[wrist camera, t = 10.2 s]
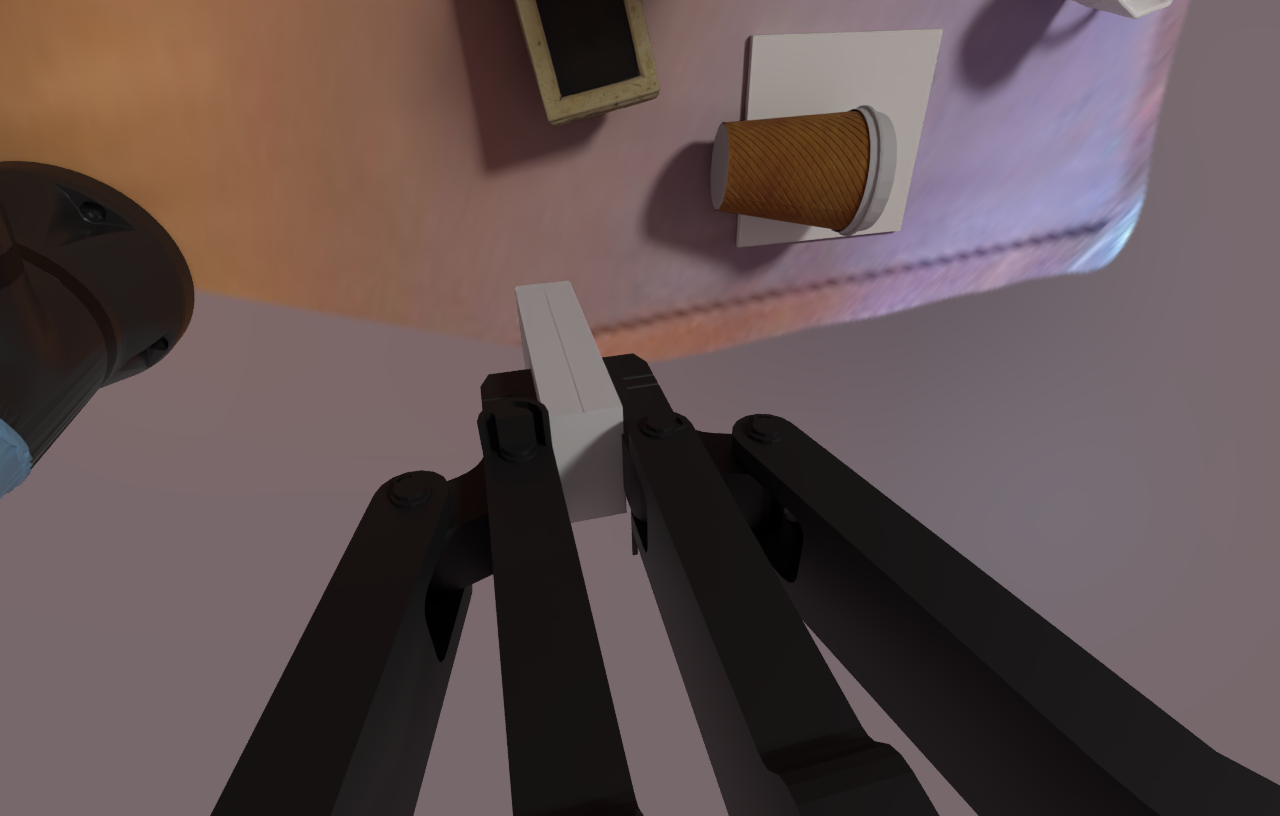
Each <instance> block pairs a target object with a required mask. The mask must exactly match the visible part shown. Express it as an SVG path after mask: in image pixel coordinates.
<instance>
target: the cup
mask: <svg viewBox="0 0 1280 816" xmlns="http://www.w3.org/2000/svg"><path fill="white" fill-rule="evenodd" d="M1073 1H1075V2H1077V3H1079V4H1082V5H1084V6H1086V7H1090V8H1094V9H1098V10H1103V11H1107V12H1111V13H1114V14H1118V15H1121V16H1125V17H1129V18H1133V19H1137V18H1140V17H1142V16H1145V15H1147V14H1150V13H1152V12H1154V11H1157V10H1159V9H1162V8H1164V7H1167V6H1169V5H1170V4H1171V3H1172V1H1173V0H1073Z"/></svg>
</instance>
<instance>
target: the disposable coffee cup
mask: <svg viewBox="0 0 1280 816" xmlns="http://www.w3.org/2000/svg"><path fill="white" fill-rule="evenodd" d="M896 164H897V141H896V134H895V129H894V126H893V123H892V122H891V120H890V118H889V117H888V116H887V115H885V114H884V113H881V112H877V111H875V110H874V108H873V107H871V106H869V105H862V106H859V107H857V108H855V109H851V110H849V111H847V112H838V113H827V114H814V115H804V116H793V117H781V118H770V119H758V120H747V121H736V122H723V123H721V125H720V126H719V128H718V131H717V134H716V137H715V141H714V146H713V153H712V161H711V173H710V181H711V200H712V204H713V207H714V209H715V210H716V211H723V212H729V213H736V214H741V215H747V216H754V217H760V218H765V219H771V220H778V221H784V222H790V223H797V224H802V225H808V226H815V227H821V228H828V229H831V230H832V231H834V232H837V233H839V234H840V235H843V236H851V235H853V234H855V233H856V232H858V231H863V230H867V229H868V228H870V227H872V226H873V225H874V224H875V223H876V222H877V220H878V219H879V217H880V216H881V214H882V213H883V211H884V208H885V206H886V204H887V202H888V199H889V196H890V193H891V189H892V186H893V182H894V177H895V171H896Z"/></svg>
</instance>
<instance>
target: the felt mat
mask: <svg viewBox="0 0 1280 816" xmlns="http://www.w3.org/2000/svg"><path fill="white" fill-rule="evenodd" d="M942 33H943V29H922V30H893V31H864V32H836V33H807V34H778V35H751V36H750V51H749V65H748V80H747V94H746V108H745V121H747V120H758V119H770V118H781V117H793V116H804V115H814V114H827V113H838V112H847V111H849V110H851V109H855V108H857V107H859V106H862V105H869V106H871V107H873V108H874V110H875V111H877V112H881V113H884V114H885V115H887V116H888V117H889V118H890V120H891V122H892V123H893V126H894V129H895V134H896V141H897V164H896V171H895V177H894V182H893V186H892V189H891V193H890V196H889V199H888V202H887V204H886V206H885V208H884V211H883V213H882V214H881V216H880V217H879V219H878V220H877V222H876V223H875V224H874V225H873V226H872V227H870V228H868V229H867V230H863V231H858V232H856V233H855V234H853V235H862V234H872V233H881V232H891V231H900V229H901V225H902V220H903V215H904V211H905V206H906V201H907V197H908V192H909V187H910V183H911V178H912V173H913V169H914V164H915V159H916V155H917V150H918V145H919V140H920V136H921V131H922V126H923V122H924V117H925V112H926V108H927V103H928V98H929V94H930V89H931V84H932V80H933V75H934V70H935V66H936V61H937V56H938V52H939V47H940V42H941V38H942ZM853 235H851V236H853ZM834 237H843V235H840V234H839V233H837V232H834V231H832V230H831V229H828V228H821V227H815V226H808V225H802V224H797V223H790V222H784V221H778V220H771V219H765V218H760V217H754V216H747V215H741V214H738V223H737V238H736V246H737V247H738V248H739V247H748V246H758V245H767V244H777V243H786V242H796V241H805V240H815V239H824V238H834Z"/></svg>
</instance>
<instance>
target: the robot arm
mask: <svg viewBox="0 0 1280 816" xmlns="http://www.w3.org/2000/svg"><path fill="white" fill-rule="evenodd" d="M515 294H516V301H517V309H518V316H519V324H520V331H521V339H522V346H523V354H524V361H525V368H526V369H525V370H518V371H511V372H504V373H496V374H489V375H488V376H487V378H486V379H485V381H484V382H483V384H482V385H481V399H482V410H483V411H482V412H481V413H480V414H479V417H478V420H477V424H478V430H479V435H480V440H481V445H482V450H483V456H484V457H483V459H482V460H481V462H480V463H479V464H478V465H477V466H476V467H475V468H473V469H472V470H470V471H469V472H467V473H465V474H463V475H461V476H459V477H457V478H454V479H452V480H449V481H446V479H445V478H444V477H443V476H441V475H439V474H437V473H435V472H431V471H414V472H407V473H404V474H401V475H399V476H396V477H393V478H392V479H390V480H389V481H387V482H386V483H384V484H383V485H381V487H380V488H379V489H378V490H377V492H376V493H375V494H374V496H373V498H372V500H371V502H370V504H369V506H368V507H367V509H366V511H365V513H364V515H363V517H362V520H361V521H360V523H359V525H358V527H357V529H356V531H355V533H354V535H353V537H352V539H351V541H350V543H349V545H348V547H347V549H346V551H345V553H344V555H343V557H342V558H341V560H340V562H339V565H338V566H337V569H336V570H335V572H334V574H333V576H332V578H331V580H330V582H329V584H328V586H327V588H326V590H325V592H324V594H323V596H322V598H321V600H320V602H319V604H318V606H317V607H316V609H315V612H314V613H313V615H312V617H311V619H310V621H309V623H308V625H307V627H306V629H305V631H304V633H303V635H302V637H301V639H300V641H299V643H298V645H297V647H296V649H295V651H294V653H293V655H292V657H291V658H290V660H289V662H288V665H287V666H286V668H285V670H284V672H283V674H282V676H281V678H280V680H279V682H278V684H277V686H276V688H275V690H274V692H273V694H272V696H271V698H270V700H269V702H268V704H267V706H266V708H265V709H264V711H263V713H262V715H261V718H260V719H259V722H258V723H257V725H256V727H255V729H254V731H253V733H252V735H251V737H250V739H249V741H248V743H247V745H246V747H245V749H244V751H243V753H242V755H241V757H240V759H239V760H238V763H237V764H236V766H235V768H234V770H233V772H232V774H231V776H230V778H229V780H228V782H227V784H226V786H225V788H224V790H223V792H222V794H221V796H220V798H219V800H218V802H217V804H216V806H215V808H214V810H213V811H212V813H211V815H210V816H413V815H414V811H415V807H416V803H417V800H418V796H419V792H420V788H421V784H422V781H423V777H424V773H425V769H426V766H427V761H428V758H429V754H430V750H431V746H432V743H433V739H434V735H435V731H436V728H437V724H438V720H439V716H440V712H441V709H442V705H443V701H444V697H445V694H446V690H447V686H448V682H449V678H450V674H451V671H452V667H453V663H454V659H455V655H456V652H457V648H458V644H459V641H460V637H461V633H462V629H463V625H464V622H465V618H466V614H467V610H468V607H469V603H470V599H471V595H472V584H473V583H475V582H478V581H480V580H482V579H484V578H486V577H488V576H490V575H492V574H493V576H494V588H495V600H496V612H497V625H498V637H499V649H500V661H501V674H502V686H503V698H504V710H505V722H506V734H507V746H508V759H509V771H510V783H511V795H512V807H513V816H643V814H642V812H641V811H640V809H639V807H638V804H637V801H636V798H635V794H634V790H633V786H632V781H631V777H630V773H629V769H628V765H627V760H626V756H625V752H624V748H623V743H622V739H621V735H620V730H619V726H618V722H617V718H616V714H615V709H614V705H613V701H612V697H611V693H610V688H609V684H608V680H607V675H606V671H605V667H604V663H603V659H602V654H601V650H600V646H599V641H598V637H597V633H596V629H595V624H594V620H593V616H592V612H591V607H590V604H589V599H588V595H587V590H586V586H585V582H584V578H583V574H582V569H581V565H580V561H579V556H578V552H577V548H576V544H575V540H574V536H573V532H572V527H571V523H573V522H578V521H583V520H589V519H595V518H600V517H605V516H611V515H616V514H621V513H626V512H627V511H626V497H627V500H628V503H629V505H630V508H631V524H632V550H633V551H632V552H633V555H637V554H638V549H639V552H640V554H641V558H642V561H643V564H644V567H645V569H646V572H647V575H648V578H649V581H650V584H651V587H652V590H653V593H654V596H655V599H656V602H657V605H658V608H659V611H660V614H661V616H662V620H663V623H664V626H665V629H666V631H667V634H668V637H669V640H670V643H671V646H672V649H673V652H674V655H675V658H676V661H677V664H678V666H679V670H680V673H681V676H682V678H683V681H684V684H685V687H686V690H687V693H688V696H689V699H690V702H691V705H692V708H693V711H694V714H695V717H696V720H697V723H698V726H699V728H700V732H701V735H702V738H703V741H704V744H705V747H706V750H707V753H708V755H709V758H710V761H711V764H712V767H713V770H714V773H715V776H716V779H717V782H718V785H719V788H720V791H721V794H722V797H723V800H724V802H725V805H726V809H727V811H728V814H729V816H939V814H938V813H937V811H936V809H935V808H934V806H933V804H932V802H931V801H930V799H929V797H928V796H927V794H926V792H925V791H924V789H923V787H922V786H921V784H920V782H919V781H918V779H917V777H916V776H915V774H914V772H913V771H912V769H911V768H910V766H909V765H908V764H907V762H906V761H905V760H904V758H903V757H902V755H901V754H900V753H899V752H898V751H896V750H895V749H894V748H893V747H892V746H891V745H890V744H886V743H881V742H876V741H874V740H873V739H872V738H870V737H869V736H868V735H867V733H866V732H865V730H864V729H863V727H862V726H861V724H860V722H859V720H858V719H857V717H856V715H855V713H854V711H853V710H852V708H851V706H850V704H849V703H848V701H847V699H846V697H845V695H844V694H843V692H842V690H841V688H840V686H839V685H838V683H837V681H836V679H835V678H834V676H833V674H832V672H831V671H830V669H829V667H828V665H827V663H826V662H825V660H824V658H823V656H822V654H821V653H820V651H819V649H818V647H817V646H816V644H815V642H814V640H813V639H812V637H811V635H810V633H809V631H808V630H807V628H806V626H805V624H804V622H805V623H806V624H807V626H808V627H809V628H810V629H811V630H812V631H813V632H814V633H815V634H816V636H817V637H818V638H819V639H820V640H821V641H822V642H823V643H824V644H825V646H826V647H827V648H828V649H829V650H830V651H831V652H832V653H833V654H834V656H835V657H836V658H837V659H838V660H839V661H840V662H841V663H842V664H843V666H844V667H845V668H846V669H847V670H848V671H849V672H850V673H851V674H852V676H853V677H854V678H855V679H856V680H857V681H858V682H859V683H860V684H861V686H862V687H863V688H864V689H865V690H866V691H867V692H868V693H869V694H870V695H871V697H872V698H873V699H874V700H875V701H876V702H877V703H878V704H879V705H880V707H881V708H882V709H883V710H884V711H885V712H886V713H887V714H888V716H889V717H890V718H891V719H892V720H893V721H894V722H895V723H896V724H897V726H898V727H899V728H900V729H901V730H902V731H903V732H904V733H905V734H906V735H907V737H908V738H909V739H910V740H911V741H912V742H913V743H914V744H915V746H917V748H918V749H919V750H920V751H921V752H922V753H923V754H924V756H925V757H926V758H927V759H928V760H929V761H930V762H931V763H932V764H933V766H934V767H935V768H936V769H937V770H938V771H939V772H940V773H941V774H942V776H943V777H944V778H945V779H946V780H947V781H948V782H949V783H950V784H951V786H952V787H953V788H954V789H955V790H956V791H957V792H958V793H959V794H960V796H961V797H962V798H963V799H964V800H965V801H966V802H967V803H968V804H969V805H970V807H972V809H973V810H974V811H975V812H976V813H977V814H978V816H1280V785H1278V784H1276V783H1274V782H1272V781H1271V780H1269V779H1267V778H1265V777H1263V776H1261V775H1259V774H1257V773H1255V772H1253V771H1252V770H1250V769H1248V768H1246V767H1244V766H1242V765H1240V764H1239V763H1237V762H1235V761H1233V760H1231V759H1229V758H1227V757H1225V756H1223V755H1221V754H1220V753H1218V752H1216V751H1215V750H1213V749H1212V748H1211V747H1209V746H1208V745H1207V744H1206V743H1204V742H1203V741H1202V740H1201V739H1199V738H1198V737H1197V736H1195V735H1194V734H1193V733H1191V732H1190V731H1189V730H1188V729H1186V728H1185V727H1184V726H1183V725H1181V724H1180V723H1179V722H1177V721H1176V720H1175V719H1173V718H1172V717H1171V716H1170V715H1168V714H1167V713H1166V712H1164V711H1163V710H1162V709H1161V708H1159V707H1158V706H1157V705H1155V704H1154V703H1153V702H1152V701H1150V700H1149V699H1148V698H1146V697H1145V696H1144V695H1142V694H1141V693H1140V692H1139V691H1137V690H1136V689H1135V688H1133V687H1132V686H1131V685H1129V684H1128V683H1127V682H1125V681H1124V680H1123V679H1122V678H1120V677H1119V676H1118V675H1117V674H1115V673H1114V672H1113V671H1111V670H1110V669H1109V668H1108V667H1106V666H1105V665H1104V664H1102V663H1101V662H1100V661H1099V660H1097V659H1096V658H1094V657H1093V656H1092V655H1091V654H1090V653H1088V652H1087V651H1085V650H1084V649H1083V648H1082V647H1080V646H1079V645H1078V644H1077V643H1075V642H1074V641H1073V640H1071V639H1070V638H1069V637H1068V636H1066V635H1065V634H1064V633H1062V632H1061V631H1060V630H1058V629H1057V628H1056V627H1055V626H1053V625H1052V624H1051V623H1049V622H1048V621H1047V620H1046V619H1044V618H1043V617H1042V616H1040V615H1039V614H1038V613H1036V612H1035V611H1034V610H1033V609H1031V608H1030V607H1029V606H1027V605H1026V604H1025V603H1024V602H1022V601H1021V600H1020V599H1018V598H1017V597H1016V596H1014V595H1013V594H1012V593H1011V592H1009V591H1008V590H1007V589H1005V588H1004V587H1003V586H1002V585H1000V584H999V583H998V582H996V581H995V580H994V579H993V578H991V577H990V576H989V575H987V574H986V573H985V572H984V571H982V570H981V569H980V568H978V567H977V566H976V565H975V564H973V563H972V562H971V561H969V560H968V559H967V558H965V557H964V556H963V555H962V554H960V553H959V552H958V551H956V550H955V549H954V548H952V547H951V546H950V545H949V544H947V543H946V542H945V541H944V540H942V539H940V537H938V536H937V535H936V534H934V533H933V532H932V531H931V530H929V529H928V528H927V527H925V526H924V525H923V524H922V523H920V522H919V521H918V520H916V519H915V518H914V517H912V516H911V515H910V514H909V513H907V512H906V511H905V510H903V509H902V508H901V507H899V506H898V505H897V504H896V503H894V502H893V501H892V500H891V499H889V498H888V497H887V496H885V495H884V494H883V493H881V492H880V491H879V490H878V489H876V488H875V487H874V486H872V485H871V484H870V483H869V482H867V481H866V480H865V479H863V478H862V477H861V476H860V475H858V474H857V473H856V472H854V471H853V470H852V469H850V468H849V467H848V466H847V465H845V464H844V463H843V462H841V461H840V460H839V459H837V458H836V457H835V456H834V455H832V454H831V453H830V452H828V451H827V450H826V449H825V448H823V447H822V446H821V445H819V444H818V443H817V442H816V441H814V440H813V439H812V438H810V437H809V436H808V435H806V434H805V433H804V432H803V431H801V430H800V429H799V428H797V427H796V426H795V425H793V424H792V423H791V422H789V421H787V420H785V419H783V418H781V417H778V416H774V415H770V414H754V415H750V416H745V417H743V418H741V419H740V420H738V421H737V422H736V423H735V425H734V426H733V430H732V434H722V433H708V432H701V431H698V430H695V428H694V427H693V425H692V423H691V422H690V421H689V420H688V419H687V418H686V417H685V416H682V415H680V414H678V413H676V412H673V410H672V408H671V407H670V404H669V403H668V401H667V399H666V397H665V395H664V394H663V392H662V390H661V388H660V386H659V385H658V383H657V380H656V379H655V377H654V376H653V373H652V371H651V369H650V367H649V366H648V364H647V362H646V361H644V360H643V359H641V358H640V357H638V356H636V355H635V354H633V353H632V354H625V355H617V356H610V357H603V358H602V357H601V354H600V352H599V350H598V347H597V345H596V343H595V340H594V338H593V335H592V333H591V331H590V328H589V326H588V324H587V321H586V319H585V317H584V314H583V312H582V309H581V307H580V305H579V302H578V300H577V298H576V295H575V293H574V291H573V288H572V286H571V283H570V281H561V282H552V283H543V284H534V285H525V286H516V287H515ZM193 309H194V286H193V281H192V277H191V274H190V270H189V268H188V265H187V263H186V261H185V259H184V257H183V255H182V253H181V251H180V249H179V248H178V246H177V245H176V243H175V242H174V240H173V239H172V238H171V236H170V235H169V234H168V233H167V231H166V230H165V229H164V228H163V227H162V226H161V225H160V224H159V223H158V222H157V221H156V219H154V218H153V217H152V216H151V215H150V214H149V213H148V212H147V211H146V210H144V209H143V208H142V207H141V206H139V205H138V204H137V203H135V202H134V201H133V200H131V199H130V198H128V197H127V196H125V195H124V194H122V193H121V192H119V191H117V190H115V189H114V188H112V187H110V186H108V185H106V184H104V183H102V182H100V181H98V180H96V179H94V178H91V177H89V176H86V175H84V174H81V173H78V172H75V171H72V170H69V169H65V168H62V167H58V166H53V165H49V164H43V163H36V162H25V161H4V162H0V498H2V497H3V496H4V495H5V494H6V493H9V492H10V491H12V490H13V489H14V488H15V487H17V486H19V485H20V484H22V483H23V482H24V480H25V479H26V478H27V477H28V475H29V473H30V471H31V469H32V468H33V467H34V465H35V464H36V463H37V462H38V461H39V459H40V458H41V457H42V456H43V454H44V453H45V452H46V451H47V450H48V449H49V448H50V446H51V445H52V444H53V442H55V440H56V439H57V438H58V437H59V436H60V434H61V433H62V432H63V431H64V430H65V429H66V427H67V426H68V425H69V424H70V423H71V421H72V420H73V419H74V418H75V417H76V415H77V414H78V413H79V412H80V411H81V409H82V408H83V407H84V406H85V405H86V404H87V402H88V401H89V400H90V399H91V398H92V396H93V395H94V394H95V393H96V391H97V390H98V389H99V388H102V387H104V386H107V385H110V384H112V383H115V382H118V381H120V380H123V379H125V378H128V377H131V376H134V375H136V374H139V373H141V372H143V371H145V370H147V369H148V368H150V367H152V366H153V365H155V364H156V363H158V362H159V361H160V360H161V359H163V358H164V357H165V356H166V355H167V354H168V353H169V352H170V351H171V350H172V348H173V347H174V346H175V345H176V343H177V342H178V341H179V340H180V338H181V337H182V336H183V334H184V333H185V331H186V329H187V327H188V325H189V323H190V320H191V317H192V313H193ZM802 620H803V621H804V622H803V621H802Z"/></svg>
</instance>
